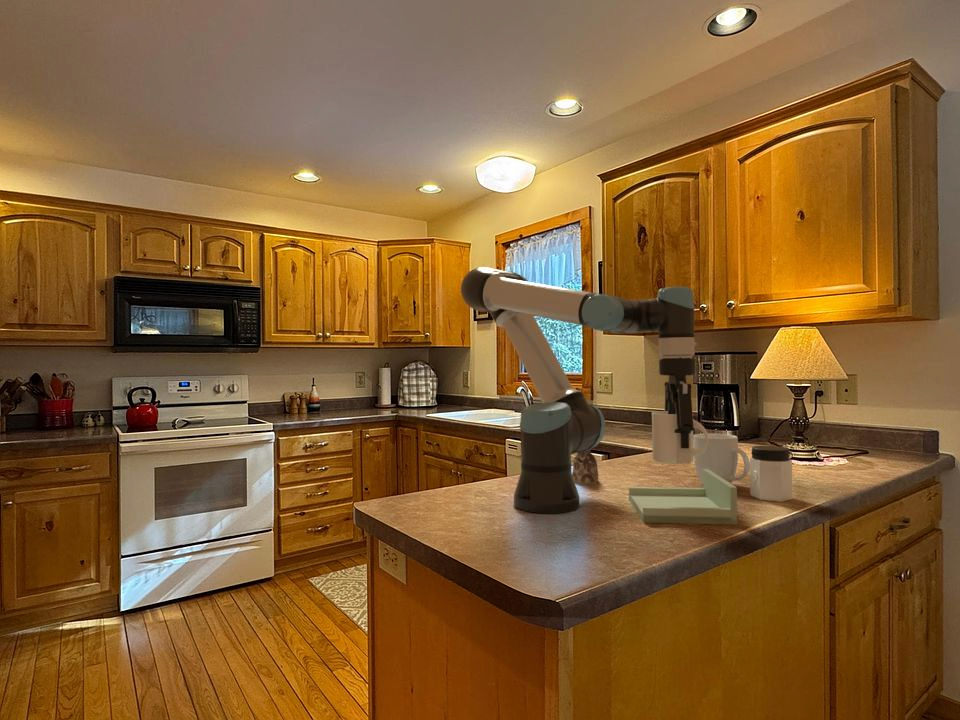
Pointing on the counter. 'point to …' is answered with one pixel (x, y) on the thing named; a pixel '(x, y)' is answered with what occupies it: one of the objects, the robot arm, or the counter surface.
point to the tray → (688, 502)
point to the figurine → (585, 468)
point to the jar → (771, 473)
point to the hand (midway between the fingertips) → (678, 459)
